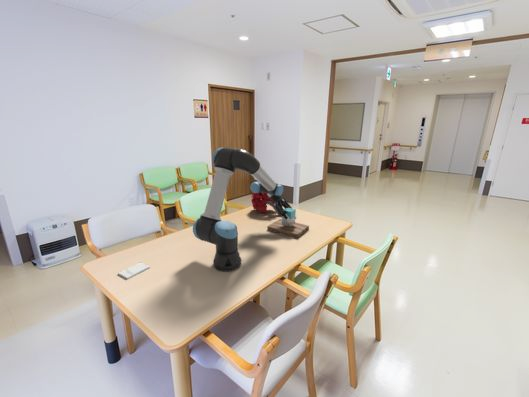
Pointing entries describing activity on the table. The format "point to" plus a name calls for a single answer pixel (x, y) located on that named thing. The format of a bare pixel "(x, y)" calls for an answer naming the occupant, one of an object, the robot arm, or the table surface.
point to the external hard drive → (133, 270)
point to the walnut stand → (288, 229)
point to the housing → (291, 215)
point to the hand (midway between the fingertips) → (292, 220)
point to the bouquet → (262, 202)
